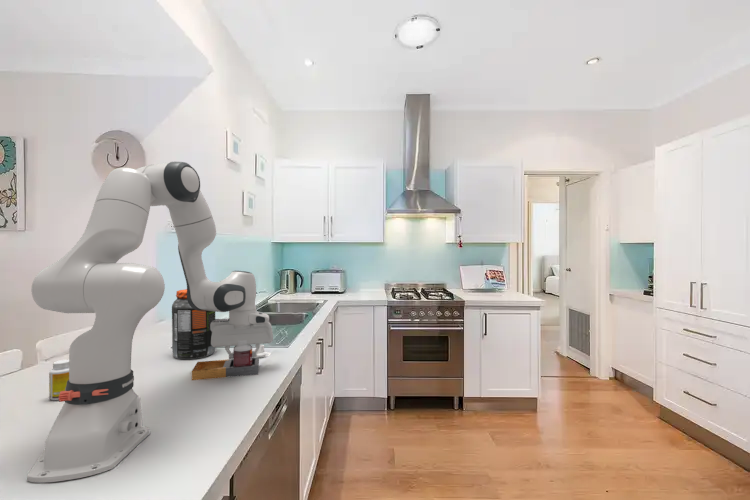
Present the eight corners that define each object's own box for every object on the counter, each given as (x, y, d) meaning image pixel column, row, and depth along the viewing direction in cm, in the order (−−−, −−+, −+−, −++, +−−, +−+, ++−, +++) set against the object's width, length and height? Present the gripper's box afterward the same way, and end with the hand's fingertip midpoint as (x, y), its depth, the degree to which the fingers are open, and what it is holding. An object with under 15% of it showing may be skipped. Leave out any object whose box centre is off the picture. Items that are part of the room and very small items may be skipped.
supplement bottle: (79, 395, 108) (79, 359, 108) (56, 402, 103) (56, 365, 103) (67, 392, 111) (67, 357, 111) (44, 399, 106) (44, 362, 106)
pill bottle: (254, 371, 129) (254, 339, 129) (235, 375, 125) (235, 342, 125) (249, 367, 134) (249, 336, 134) (231, 370, 131) (231, 338, 131)
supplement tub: (193, 348, 160) (193, 287, 160) (224, 351, 155) (224, 288, 155) (162, 358, 145) (162, 291, 145) (194, 362, 140) (194, 292, 140)
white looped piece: (264, 359, 144) (264, 349, 144) (245, 358, 146) (245, 348, 146) (274, 353, 153) (274, 343, 153) (255, 352, 154) (255, 342, 154)
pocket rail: (258, 374, 126) (258, 365, 126) (191, 380, 121) (191, 371, 121) (259, 365, 136) (259, 357, 136) (197, 370, 131) (197, 361, 131)
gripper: (208, 320, 124) (208, 362, 124) (273, 317, 129) (273, 357, 129) (211, 317, 130) (211, 357, 130) (272, 314, 135) (272, 352, 136)
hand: (242, 357), depth 130 cm, fingers closed on pill bottle, 6 cm apart
